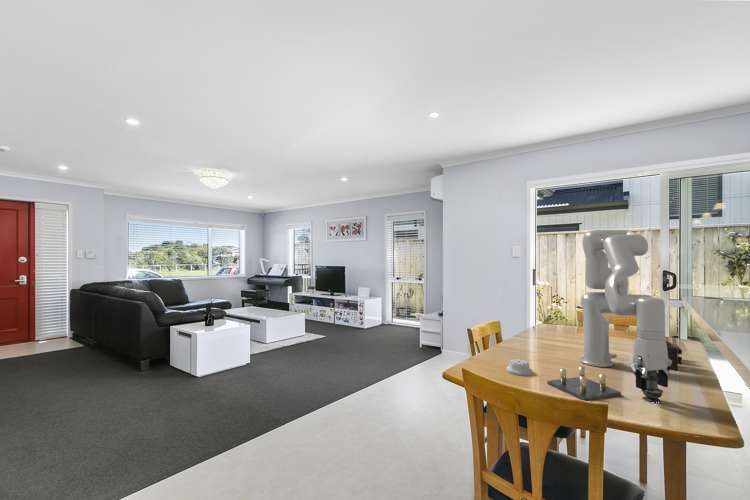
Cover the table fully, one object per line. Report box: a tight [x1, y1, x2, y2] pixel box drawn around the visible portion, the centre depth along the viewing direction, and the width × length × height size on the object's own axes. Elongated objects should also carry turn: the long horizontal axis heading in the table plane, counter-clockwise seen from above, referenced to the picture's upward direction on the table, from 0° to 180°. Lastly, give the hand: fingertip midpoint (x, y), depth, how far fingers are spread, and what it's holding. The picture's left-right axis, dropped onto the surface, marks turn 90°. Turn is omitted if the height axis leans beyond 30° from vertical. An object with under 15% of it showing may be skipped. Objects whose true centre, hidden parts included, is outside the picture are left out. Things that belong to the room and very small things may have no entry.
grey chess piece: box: [641, 370, 664, 404], centre depth 117 cm, size 6×6×12 cm
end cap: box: [678, 346, 683, 365], centre depth 161 cm, size 10×7×7 cm
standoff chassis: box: [547, 366, 622, 401], centre depth 126 cm, size 16×16×6 cm
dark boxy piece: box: [666, 340, 679, 372], centre depth 152 cm, size 16×11×18 cm
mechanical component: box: [505, 358, 533, 376], centre depth 146 cm, size 10×4×10 cm
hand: (651, 387), depth 117 cm, fingers open, 8 cm apart
